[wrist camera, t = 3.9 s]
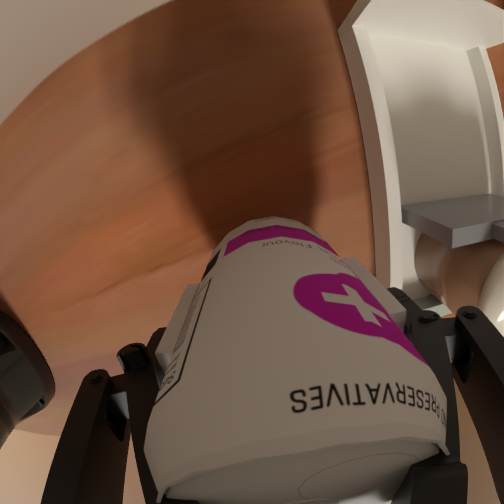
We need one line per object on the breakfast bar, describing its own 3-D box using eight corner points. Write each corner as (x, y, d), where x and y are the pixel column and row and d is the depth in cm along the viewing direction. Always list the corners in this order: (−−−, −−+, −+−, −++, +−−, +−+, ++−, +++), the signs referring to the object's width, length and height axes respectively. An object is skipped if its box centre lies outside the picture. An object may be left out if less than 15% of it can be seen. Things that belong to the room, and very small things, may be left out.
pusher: (396, 219, 19) (465, 255, 11) (395, 206, 18) (466, 235, 10) (491, 205, 18) (558, 228, 10) (491, 193, 18) (559, 214, 10)
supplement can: (280, 187, 17) (414, 309, 3) (355, 282, 19) (481, 464, 5) (183, 270, 19) (72, 480, 4) (264, 349, 20) (276, 552, 6)
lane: (375, 313, 23) (420, 381, 14) (337, 30, 16) (378, -31, 7) (484, 282, 22) (540, 323, 13) (463, 46, 15) (526, 22, 6)
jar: (412, 299, 21) (471, 364, 12) (414, 216, 19) (494, 253, 10) (472, 282, 20) (534, 330, 12) (477, 206, 18) (554, 235, 10)
